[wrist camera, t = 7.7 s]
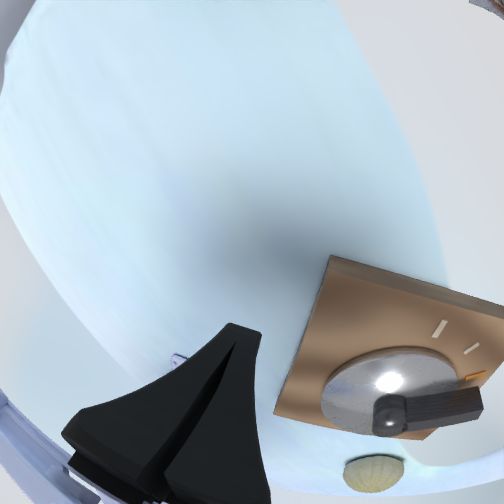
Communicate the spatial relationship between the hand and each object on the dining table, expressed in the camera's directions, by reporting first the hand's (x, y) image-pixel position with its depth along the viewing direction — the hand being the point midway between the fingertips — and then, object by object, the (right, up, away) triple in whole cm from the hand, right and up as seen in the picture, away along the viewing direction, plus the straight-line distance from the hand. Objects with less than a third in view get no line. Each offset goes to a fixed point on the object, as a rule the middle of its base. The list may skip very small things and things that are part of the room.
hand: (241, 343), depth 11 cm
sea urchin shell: (+19, -27, +20) cm, 39 cm away
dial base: (+13, -7, +11) cm, 18 cm away
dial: (+13, -8, +9) cm, 18 cm away
